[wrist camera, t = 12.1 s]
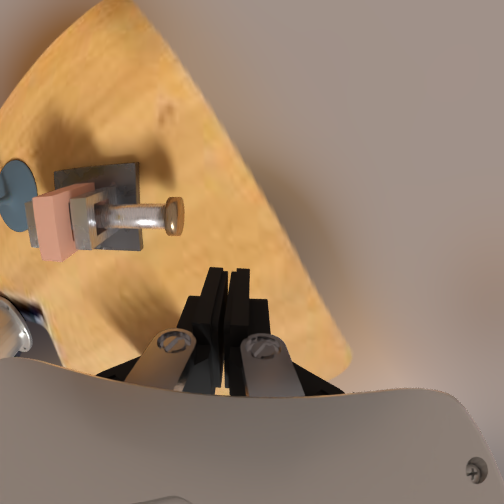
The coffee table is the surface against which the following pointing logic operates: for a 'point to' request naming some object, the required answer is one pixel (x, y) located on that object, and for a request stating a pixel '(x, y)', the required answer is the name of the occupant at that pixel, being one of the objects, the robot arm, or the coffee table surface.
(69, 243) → the block
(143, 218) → the shaft
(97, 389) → the robot arm
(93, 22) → the coffee table surface
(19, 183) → the cocktail glass
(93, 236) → the bracket
